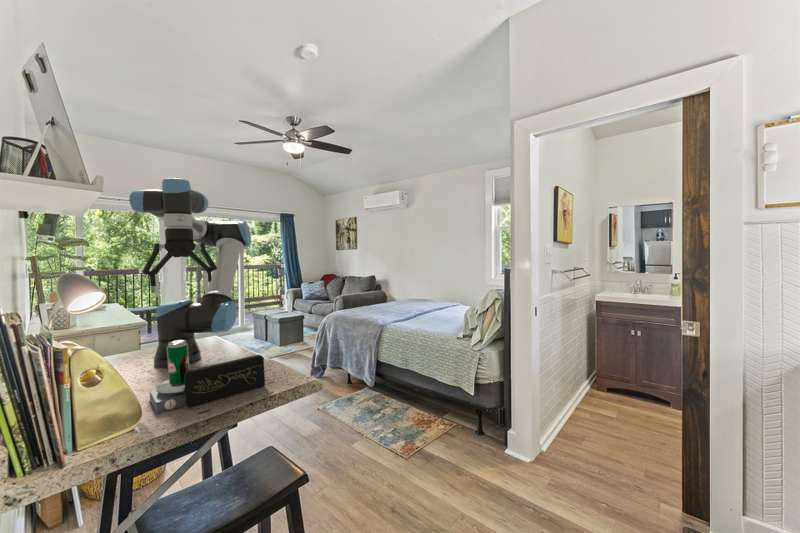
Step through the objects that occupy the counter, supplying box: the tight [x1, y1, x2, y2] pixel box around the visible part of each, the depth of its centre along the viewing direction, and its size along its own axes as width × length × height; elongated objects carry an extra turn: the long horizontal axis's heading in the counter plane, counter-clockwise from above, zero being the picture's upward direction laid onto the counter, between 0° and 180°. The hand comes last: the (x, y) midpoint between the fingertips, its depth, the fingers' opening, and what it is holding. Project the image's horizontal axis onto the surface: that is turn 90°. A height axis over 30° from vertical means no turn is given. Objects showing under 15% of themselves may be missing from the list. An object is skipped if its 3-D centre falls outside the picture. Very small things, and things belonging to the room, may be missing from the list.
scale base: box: [149, 388, 187, 415], centre depth 98 cm, size 12×13×3 cm
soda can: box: [167, 340, 190, 386], centre depth 97 cm, size 5×5×12 cm
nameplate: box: [184, 354, 266, 409], centre depth 100 cm, size 21×2×10 cm, turn 132°
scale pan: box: [155, 379, 185, 395], centre depth 98 cm, size 11×11×2 cm
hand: (183, 294), depth 110 cm, fingers open, 13 cm apart
